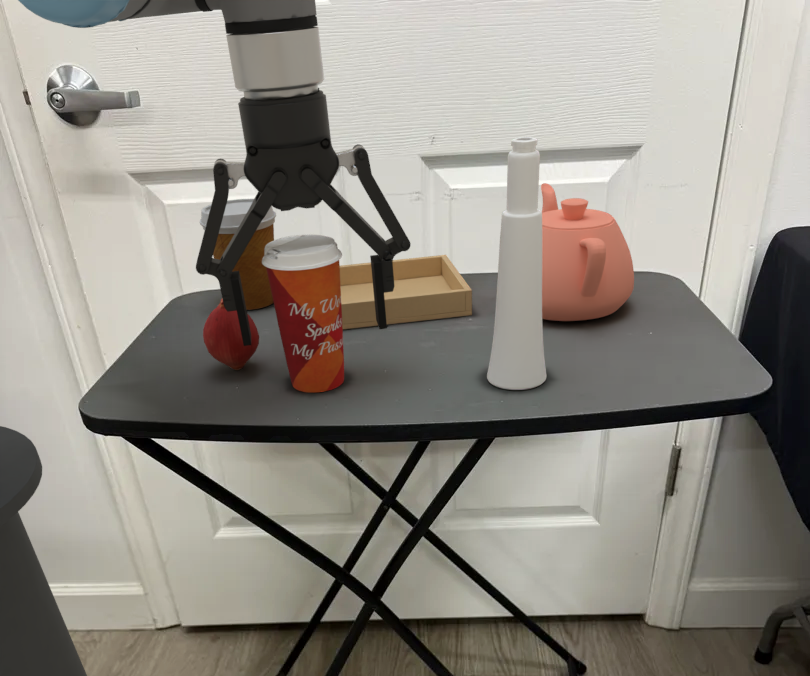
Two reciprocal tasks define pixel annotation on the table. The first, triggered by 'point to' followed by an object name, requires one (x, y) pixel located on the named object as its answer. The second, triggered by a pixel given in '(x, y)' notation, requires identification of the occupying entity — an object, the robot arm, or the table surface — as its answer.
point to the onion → (228, 338)
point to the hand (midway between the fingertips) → (315, 332)
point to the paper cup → (308, 308)
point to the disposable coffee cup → (246, 250)
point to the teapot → (582, 261)
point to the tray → (405, 292)
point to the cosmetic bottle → (519, 277)
